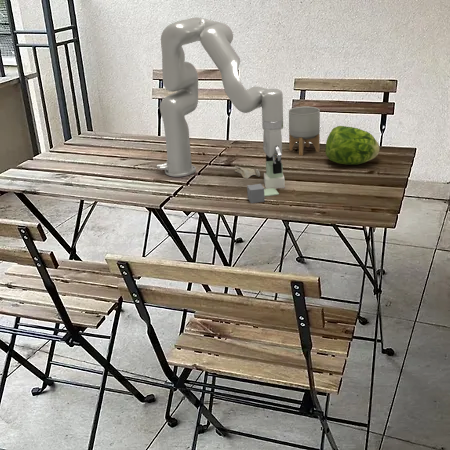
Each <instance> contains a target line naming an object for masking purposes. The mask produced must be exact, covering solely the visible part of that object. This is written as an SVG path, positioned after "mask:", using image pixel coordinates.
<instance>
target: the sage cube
mask: <svg viewBox="0 0 450 450" xmlns="http://www.w3.org/2000/svg"><path fill="white" fill-rule="evenodd" d="M273 163H274V162H273V161H266V160H265V170H266V172H265V173H266V174H267V176H268V177H269V178H278V177H283V175H284V169H283V167H284V166H283V164H284V163H282V173H278V174H273Z"/></svg>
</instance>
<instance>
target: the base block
mask: <svg viewBox="0 0 450 450" xmlns="http://www.w3.org/2000/svg"><path fill="white" fill-rule="evenodd" d="M263 183H264V188H265V187H266V188H265V189H270V188H275V189H285V188H286V187H285V185H286V184H285V183H286V181H285V175H284V174H283V177H278V178H269V177H268V176H267V174H266V172H264V173H263Z"/></svg>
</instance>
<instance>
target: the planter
mask: <svg viewBox="0 0 450 450" xmlns="http://www.w3.org/2000/svg"><path fill="white" fill-rule="evenodd" d="M320 110H321V109H320V108H318V107H315V106H296V107H291V108H290V109H288V140H289V143H288V144H289V145H288V149H289V151H294V147H295V146H294V145H295V144H296V143H298V156H303V155H304V147H305V148H310V146H311V145H310V143H311V144H312V145H313V146H314V149H315V153H319V152H320V149H321V148H320V145H321V144H320V142H321V141H320V138H321V137H320V135H321V132H320V131H321V130H320V129H321V127H320V123H321V122H320V121H321V118H320V117H321V116H320V115H321V111H320Z"/></svg>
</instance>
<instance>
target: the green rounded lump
mask: <svg viewBox="0 0 450 450" xmlns="http://www.w3.org/2000/svg"><path fill="white" fill-rule="evenodd" d="M380 149H381V148H380V144H379V142H378V141H377V140H376V139H375V137H374V135H372V134H371V133H370V132H368V131H367V130H366V131H365V130H363V129H360V128H357V127H353V126H346V125H345V126H344V125H338V126H335V127H333V128H332V130H331V131H330V132H329V134H328V136H327V138H326V142H325V155H326V157H327V159H328V160H329V161H332V162H334V163H337V164H339V165H350V166H351V165H360V164H361V165H362V164H364V163H365V164H366V163H367V162H369V161H371V160H374V159H375V158H376V157H377V156H378V154H379V153H380Z"/></svg>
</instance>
